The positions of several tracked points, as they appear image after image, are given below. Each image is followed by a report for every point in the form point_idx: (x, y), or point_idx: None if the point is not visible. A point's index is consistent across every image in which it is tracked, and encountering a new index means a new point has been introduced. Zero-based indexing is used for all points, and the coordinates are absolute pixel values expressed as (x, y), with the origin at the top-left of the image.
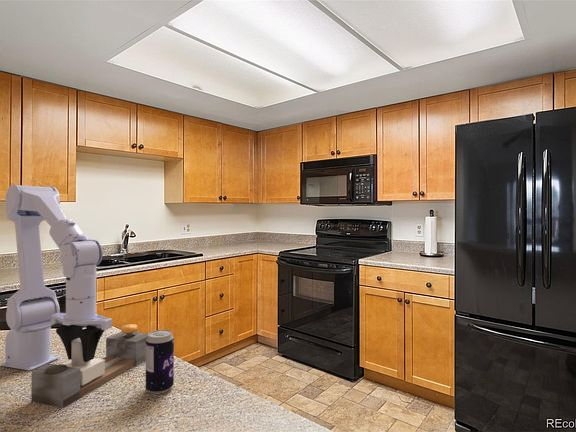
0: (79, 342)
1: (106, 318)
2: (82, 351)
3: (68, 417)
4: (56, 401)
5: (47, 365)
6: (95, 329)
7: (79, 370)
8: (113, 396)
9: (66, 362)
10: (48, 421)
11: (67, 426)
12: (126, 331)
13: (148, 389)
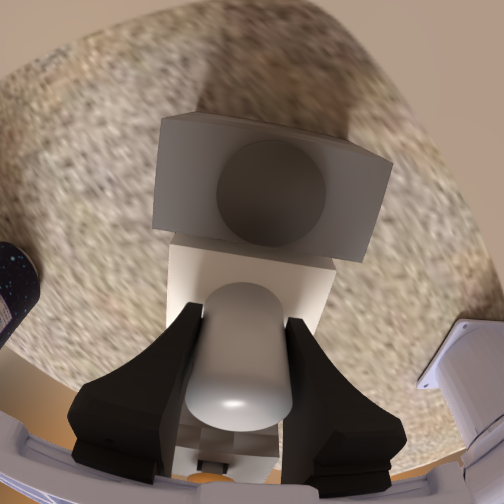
0: (217, 380)
1: (36, 497)
2: (204, 340)
3: (135, 69)
4: (223, 116)
5: (360, 242)
6: (78, 441)
7: (153, 219)
8: (89, 214)
9: (316, 313)
10: (184, 34)
11: (105, 32)
12: (205, 478)
13: (10, 245)
